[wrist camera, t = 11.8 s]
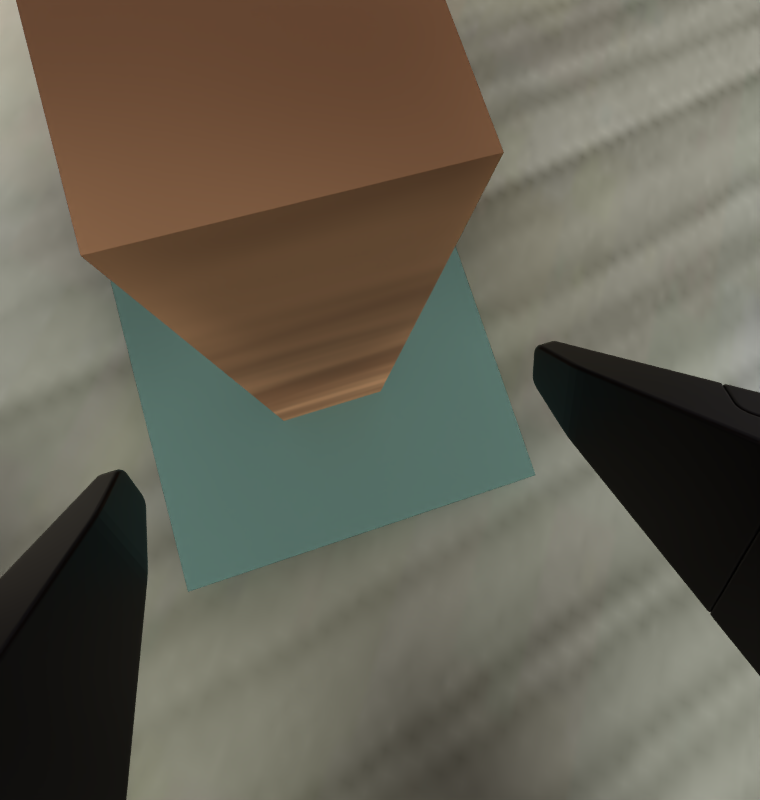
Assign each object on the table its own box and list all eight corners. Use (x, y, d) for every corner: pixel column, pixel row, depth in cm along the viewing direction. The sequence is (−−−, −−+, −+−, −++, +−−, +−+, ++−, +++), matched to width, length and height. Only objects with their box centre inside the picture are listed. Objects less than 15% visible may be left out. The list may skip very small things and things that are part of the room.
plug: (380, 391, 18) (504, 151, 4) (283, 420, 18) (80, 256, 4) (350, 300, 19) (378, -175, 5) (255, 326, 18) (-15, -121, 4)
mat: (525, 474, 19) (535, 475, 18) (196, 584, 17) (187, 591, 16) (423, 182, 21) (428, 168, 20) (113, 256, 19) (101, 244, 18)
